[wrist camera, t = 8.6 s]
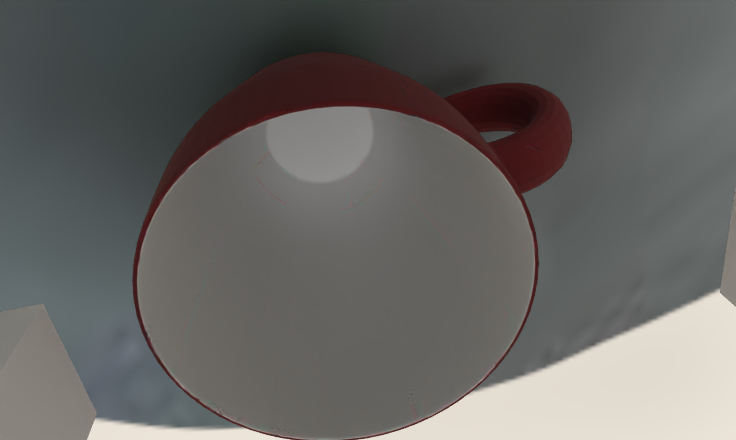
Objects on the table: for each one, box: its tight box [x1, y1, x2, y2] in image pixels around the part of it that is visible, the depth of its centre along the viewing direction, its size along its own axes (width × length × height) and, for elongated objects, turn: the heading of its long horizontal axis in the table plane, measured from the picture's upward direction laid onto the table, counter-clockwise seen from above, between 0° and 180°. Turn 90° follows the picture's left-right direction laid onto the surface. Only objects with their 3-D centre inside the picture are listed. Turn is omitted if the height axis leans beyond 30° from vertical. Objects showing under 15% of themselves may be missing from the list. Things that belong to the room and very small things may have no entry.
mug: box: [133, 52, 572, 440], centre depth 16 cm, size 10×8×10 cm
